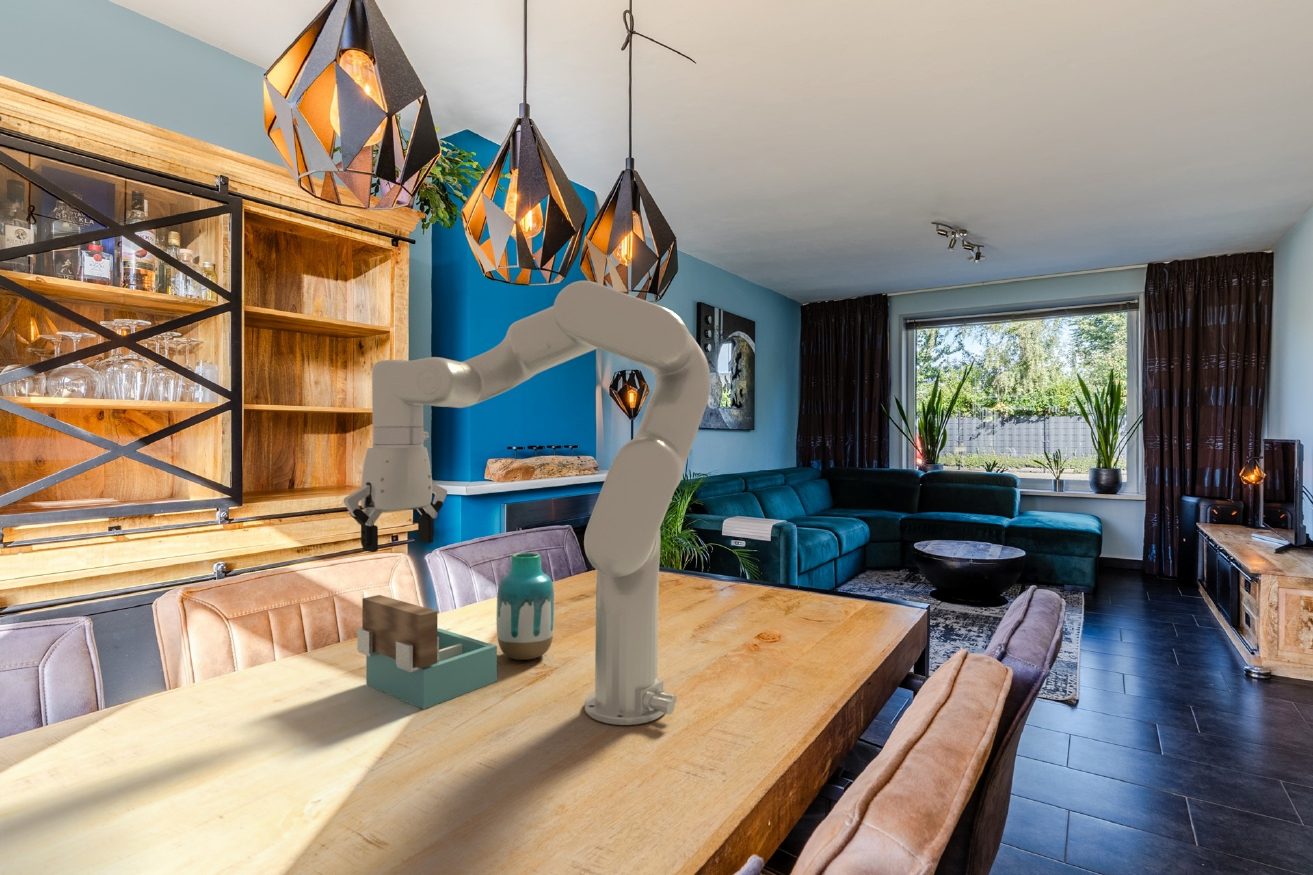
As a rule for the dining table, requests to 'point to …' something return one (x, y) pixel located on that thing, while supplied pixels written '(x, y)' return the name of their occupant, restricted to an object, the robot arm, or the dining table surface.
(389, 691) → the box
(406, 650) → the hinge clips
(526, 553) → the vase
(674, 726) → the dining table surface
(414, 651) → the door
